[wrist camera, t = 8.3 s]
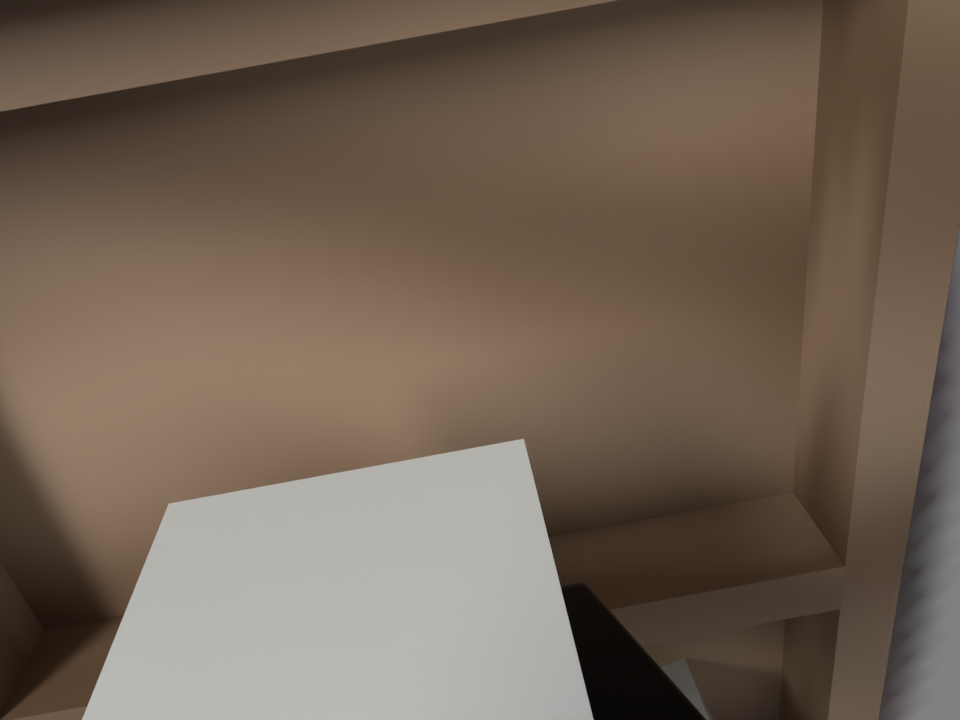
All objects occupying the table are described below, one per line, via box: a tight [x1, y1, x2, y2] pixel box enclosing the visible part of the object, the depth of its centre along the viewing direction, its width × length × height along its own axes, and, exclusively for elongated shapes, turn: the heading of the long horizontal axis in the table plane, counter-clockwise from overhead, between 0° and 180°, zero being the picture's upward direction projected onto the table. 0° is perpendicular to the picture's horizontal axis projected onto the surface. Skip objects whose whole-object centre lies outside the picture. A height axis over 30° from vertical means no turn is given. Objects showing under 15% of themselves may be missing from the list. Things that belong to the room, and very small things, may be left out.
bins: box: [0, 0, 960, 720], centre depth 11 cm, size 32×16×2 cm, turn 9°
